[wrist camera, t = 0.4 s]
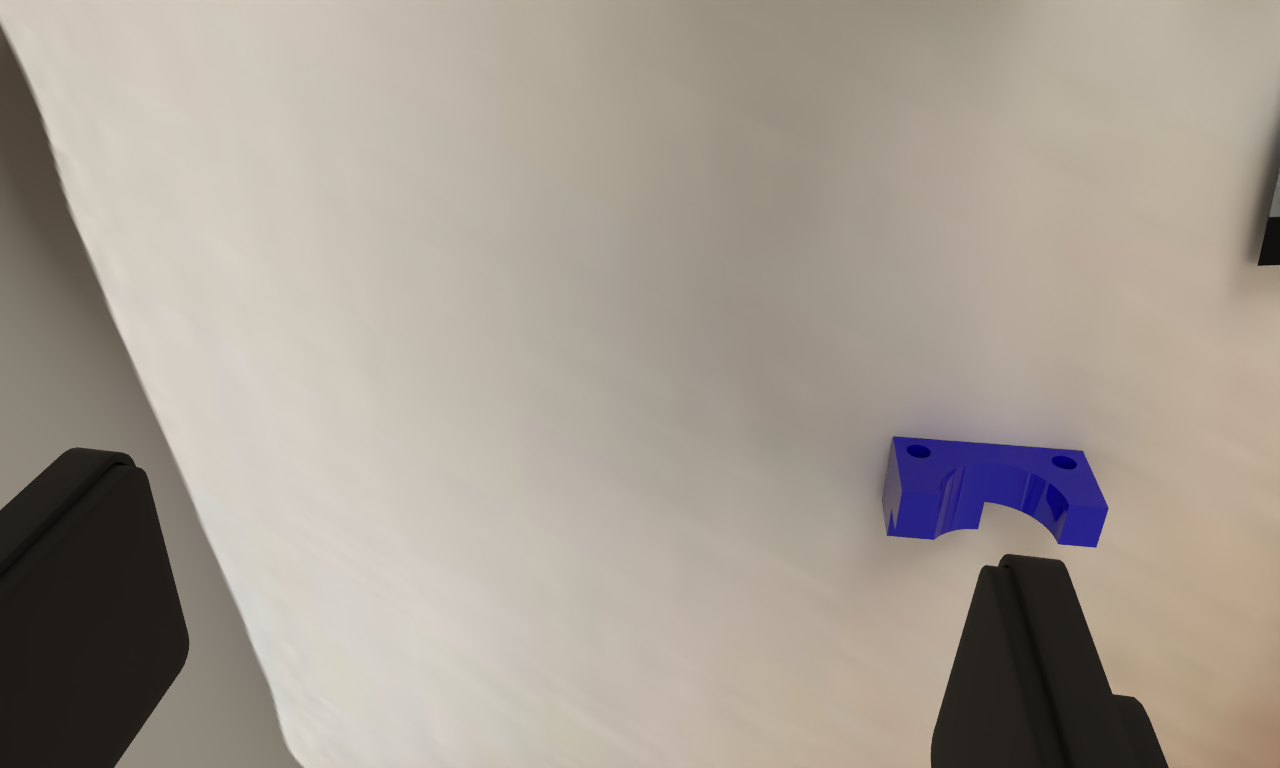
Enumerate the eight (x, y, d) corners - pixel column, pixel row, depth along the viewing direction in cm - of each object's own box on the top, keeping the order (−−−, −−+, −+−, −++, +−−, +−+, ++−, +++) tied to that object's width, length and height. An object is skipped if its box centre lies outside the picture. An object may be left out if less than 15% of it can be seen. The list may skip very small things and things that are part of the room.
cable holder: (882, 500, 45) (890, 558, 42) (892, 436, 44) (902, 491, 40) (1064, 515, 45) (1087, 575, 41) (1082, 451, 43) (1108, 508, 39)
